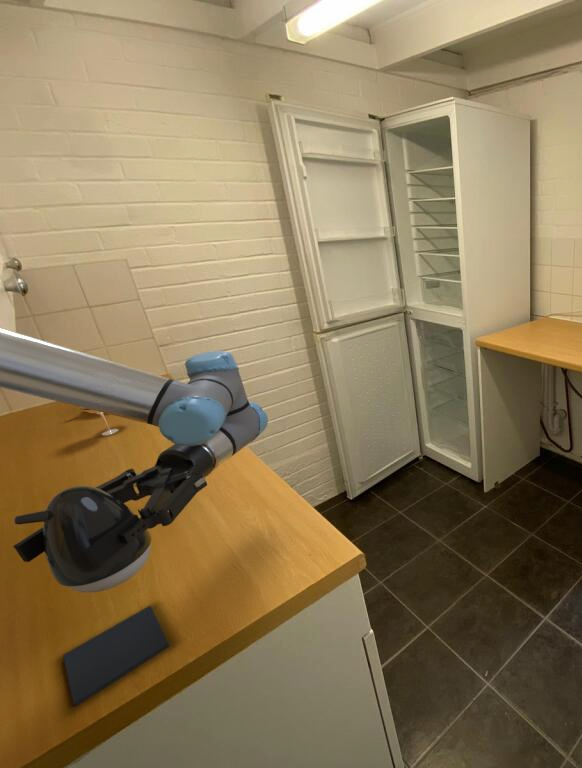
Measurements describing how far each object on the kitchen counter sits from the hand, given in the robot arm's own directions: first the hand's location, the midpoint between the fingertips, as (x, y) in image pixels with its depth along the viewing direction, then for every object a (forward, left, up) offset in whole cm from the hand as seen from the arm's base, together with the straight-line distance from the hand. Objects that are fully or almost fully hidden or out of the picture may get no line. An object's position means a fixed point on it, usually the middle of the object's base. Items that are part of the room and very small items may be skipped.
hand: (55, 556), depth 53 cm
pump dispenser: (+1, +4, -8) cm, 10 cm away
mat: (+1, -1, -18) cm, 18 cm away
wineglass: (-53, +70, -18) cm, 90 cm away
